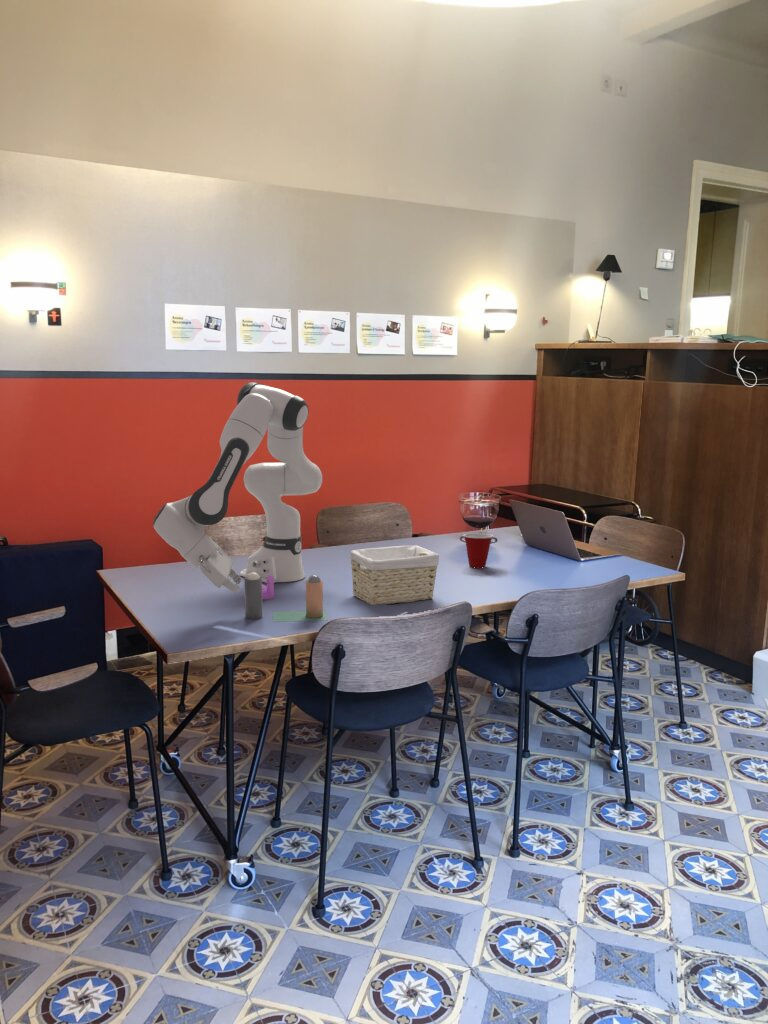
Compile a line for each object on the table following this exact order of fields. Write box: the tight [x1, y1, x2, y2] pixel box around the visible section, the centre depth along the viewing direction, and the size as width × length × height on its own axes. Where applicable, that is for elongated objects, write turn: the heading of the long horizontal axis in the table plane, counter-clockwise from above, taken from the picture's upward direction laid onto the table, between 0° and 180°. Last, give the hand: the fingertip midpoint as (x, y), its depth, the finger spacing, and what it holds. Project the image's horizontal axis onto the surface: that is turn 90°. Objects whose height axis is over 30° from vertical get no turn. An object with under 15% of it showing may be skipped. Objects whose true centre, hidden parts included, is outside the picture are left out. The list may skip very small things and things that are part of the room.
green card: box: [272, 610, 328, 623], centre depth 222 cm, size 15×9×1 cm, turn 97°
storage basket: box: [350, 544, 440, 606], centre depth 243 cm, size 24×16×15 cm
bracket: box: [262, 575, 275, 601], centre depth 246 cm, size 13×6×7 cm, turn 21°
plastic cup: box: [463, 532, 494, 569], centre depth 283 cm, size 11×11×12 cm
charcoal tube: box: [244, 572, 263, 621], centre depth 219 cm, size 5×5×14 cm
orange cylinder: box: [305, 574, 324, 618], centre depth 222 cm, size 5×5×12 cm
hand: (238, 586), depth 218 cm, fingers open, 8 cm apart
